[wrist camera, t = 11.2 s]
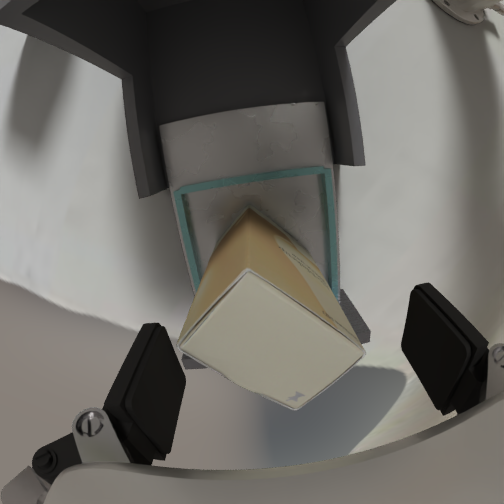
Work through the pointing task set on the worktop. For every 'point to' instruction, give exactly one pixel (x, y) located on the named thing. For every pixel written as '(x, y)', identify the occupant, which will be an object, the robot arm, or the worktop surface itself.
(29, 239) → the worktop surface
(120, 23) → the housing
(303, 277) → the skincare box
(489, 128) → the worktop surface
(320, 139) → the tray
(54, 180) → the worktop surface
